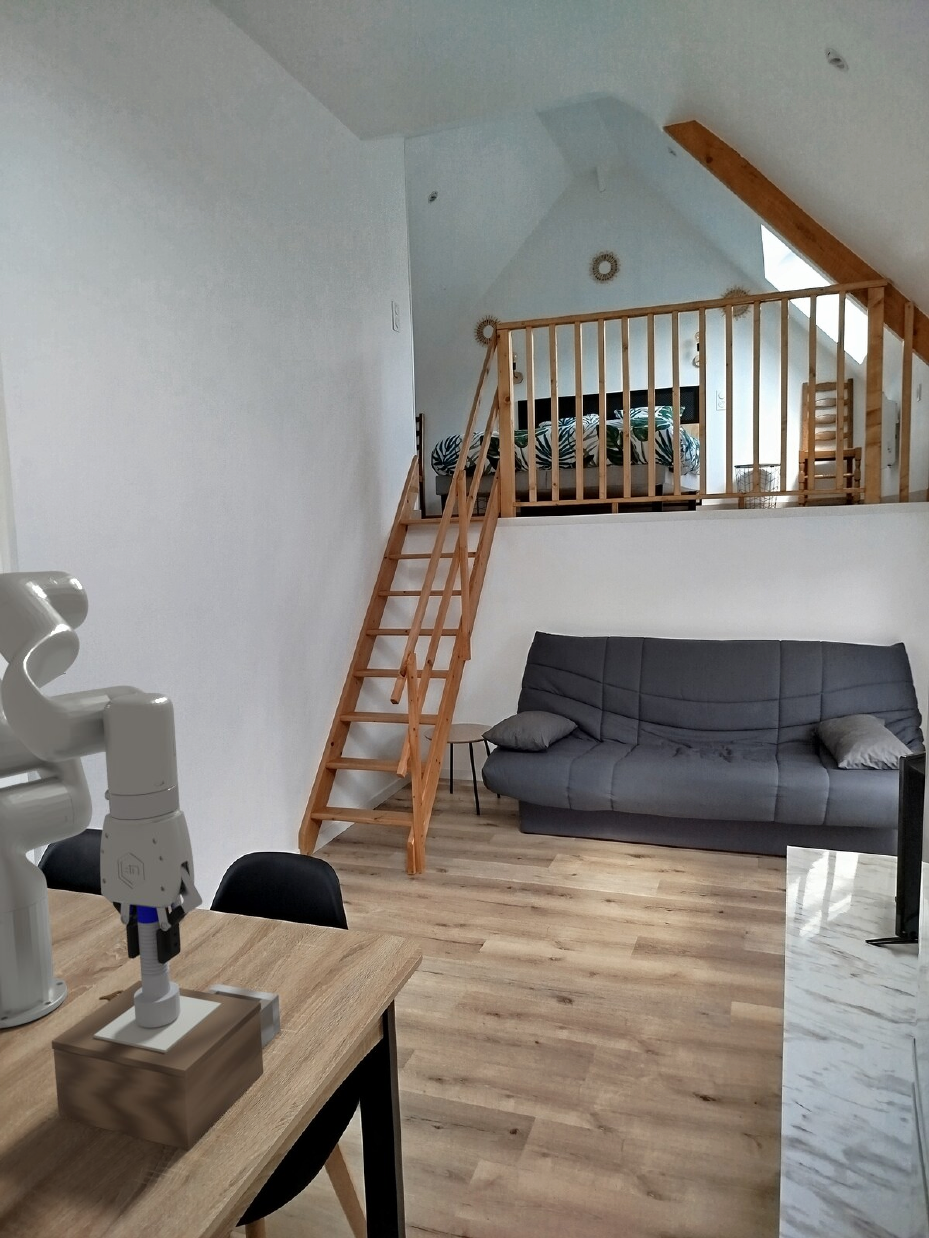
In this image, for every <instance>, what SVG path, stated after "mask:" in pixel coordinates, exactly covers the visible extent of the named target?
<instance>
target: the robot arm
mask: <svg viewBox="0 0 929 1238" xmlns="http://www.w3.org/2000/svg"><path fill="white" fill-rule="evenodd" d="M88 613H89V599H88V595H87V592H86V590H85V588H84V586H83V584H82V583H81V582H80V581H79V579H77V578H76V577H75V576H74V575H72V574H71V573H70V574H69V573H68V572H65V571H59V570H47V571H46V570H45V571H24V572H23V571H21V572H17V571H16V572H4V573H3V572H2V573H0V655H1V657H3V659H4V660H5V661H6V662H7V663H8V664H7V666H6V668H5V671H4V673H3V677H2V678H1V677H0V779H1V780H2V779H5V778H9V777H14V776H18V775H23V774H27V773H32V772H36V773H37V774H38V776H39V777H40V778H39V779H33V780H30V781H26V782H19V783H16V784H12V785H11V784H10V785H8V786H7V785H6V786H2V787H0V1029H4V1028H11V1027H15V1026H16V1027H17V1026H19V1025H20V1026H21V1025H23V1024H27V1023H30V1022H33V1021H35V1020H37V1019H40V1018H42V1017H44V1016H46V1015H48V1014H49V1013H51V1012H53V1011H55V1010H56V1009H57V1008H58V1007H59V1006H60V1005H61V1004H62V1003H63V1002H64V1001H65V999H67V995H68V988H67V983H66V981H64V980H63V979H61V978H59V977H58V976H57V977H56V976H55V971H54V960H53V946H52V932H51V921H50V909H49V908H50V907H49V905H50V904H49V895H48V894H49V893H48V885H47V879H46V876H45V874H44V873H43V871H42V869H40V867H38V865H36V864H35V863H34V862H32V861H31V860H29V859H28V857H27V856H26V855H27V853H28V852H31V851H32V850H35V849H38V848H40V847H44V846H46V845H51V844H54V843H57V842H61V841H64V840H67V839H70V838H72V837H75V836H78V835H80V834H81V833H83V832H84V831H85V830H87V828H88V827H89V826H90V823H91V821H92V818H93V801H92V798H91V797H92V796H91V793H90V788H89V785H88V782H87V778H86V773H85V770H84V766H83V762H82V759H81V758H83V757H86V756H92V755H95V754H96V755H97V754H100V753H105V762H106V763H105V764H106V780H107V790H106V791H105V792H104V798H105V800H106V801H108V806H109V807H108V808H109V812H108V813H107V814H105V815H104V820H103V824H102V831H101V838H100V857H99V858H100V859H99V860H100V861H99V862H100V865H99V866H100V867H99V871H100V873H99V874H100V888H101V890H100V893H101V895H102V896H103V897H104V899H106V900H107V901H109V902H110V903H111V904H112V905H113V907H114V909H115V910H116V911H117V913H118V914H119V915H120V917H119V918H120V923H121V924H123V925H125V931H126V932H125V933H126V943H127V944H126V946H127V957H128V958H129V959H132V960H133V959H135V958H137V957H139V956H140V948H139V936H138V934H139V933H138V930H139V929H138V921H137V906H136V905H139V906H146V907H153V908H157V913H158V918H159V924H160V929H159V930H157V932H156V940H157V956H158V962H159V963H160V964H165V963H166V962H168V961H169V962H170V961H171V960H172V959H173V958H175V957H177V956H178V955H179V954H180V953H181V951H182V950H181V949H182V948H181V946H182V945H181V932H180V929H181V928H180V923H181V922H182V921H183V920H184V918H185V917H186V916H187V915H188V914H189V913H190V912H192V911H194V910H195V909H197V908H198V907H199V906H201V905H202V904H203V898H202V896H201V894H200V893H199V890H198V889H197V887H196V886H195V866H194V857H193V856H194V855H193V848H192V843H191V836H190V833H189V828H188V824H187V820H186V817H185V813H184V811H183V810H180V809H181V808H180V792H179V777H178V775H179V774H178V763H177V762H178V761H177V759H178V758H177V745H176V744H177V743H176V727H175V726H176V725H175V712H174V711H175V710H174V709H175V708H174V704H173V702H172V700H171V698H170V697H168V696H167V695H166V694H162V693H159V692H158V693H156V692H145V691H143V690H142V689H140V688H138V687H135V686H131V685H116V686H109V687H102V688H96V689H94V688H92V689H87V690H81V691H75V692H70V693H69V692H68V693H63V694H59V695H52V696H51V695H50V696H49V695H46V694H45V693H44V692H43V691H42V690H41V688H42V687H44V686H46V685H47V684H49V683H51V682H52V681H54V680H55V679H57V678H59V677H60V676H62V675H63V674H64V673H65V672H66V671H68V670H69V668H70V667H71V666H72V665H73V664H74V663H75V661H76V659H77V657H78V656H79V651H80V639H79V636H78V634H77V632H76V631H75V630H76V629H77V628H79V627H81V625H82V624H83V623H84V622H85V620H86V618H87V615H88ZM181 897H182V898H181ZM182 899H183V901H182ZM169 907H170V910H171V911H170V910H169Z"/></svg>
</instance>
